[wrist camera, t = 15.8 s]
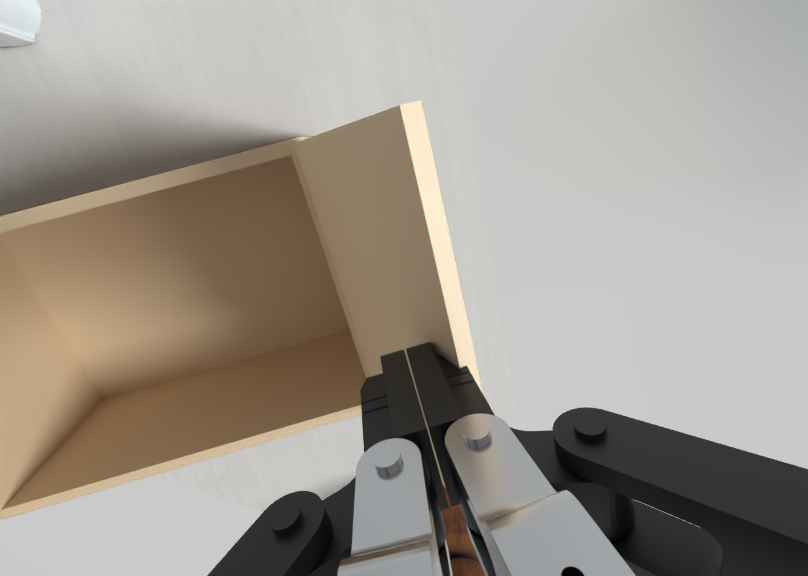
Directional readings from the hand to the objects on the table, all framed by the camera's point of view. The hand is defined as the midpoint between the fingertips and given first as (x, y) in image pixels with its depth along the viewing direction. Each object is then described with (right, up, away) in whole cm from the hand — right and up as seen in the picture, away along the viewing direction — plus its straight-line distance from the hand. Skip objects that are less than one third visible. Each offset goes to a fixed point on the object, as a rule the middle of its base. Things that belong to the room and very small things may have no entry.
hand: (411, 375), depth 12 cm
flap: (-1, +1, +3) cm, 3 cm away
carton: (-14, +3, +16) cm, 22 cm away
